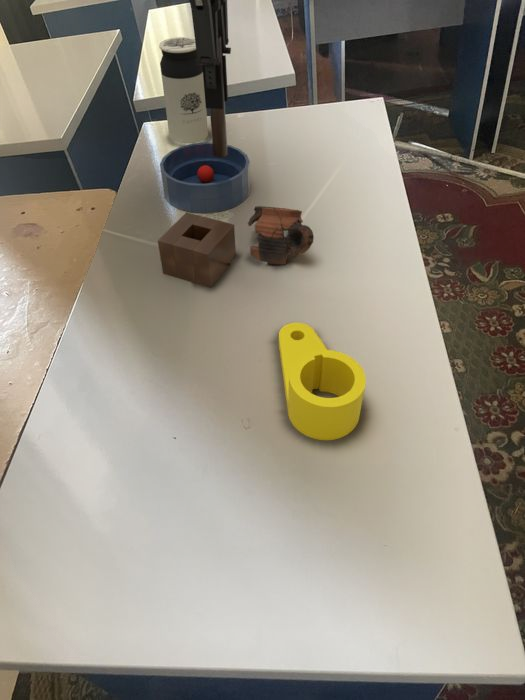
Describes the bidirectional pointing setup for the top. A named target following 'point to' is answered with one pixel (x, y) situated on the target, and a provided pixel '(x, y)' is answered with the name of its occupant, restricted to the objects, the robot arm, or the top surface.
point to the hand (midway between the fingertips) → (217, 103)
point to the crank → (319, 384)
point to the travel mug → (183, 90)
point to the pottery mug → (279, 234)
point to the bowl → (197, 195)
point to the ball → (205, 174)
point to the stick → (219, 121)
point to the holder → (197, 249)
